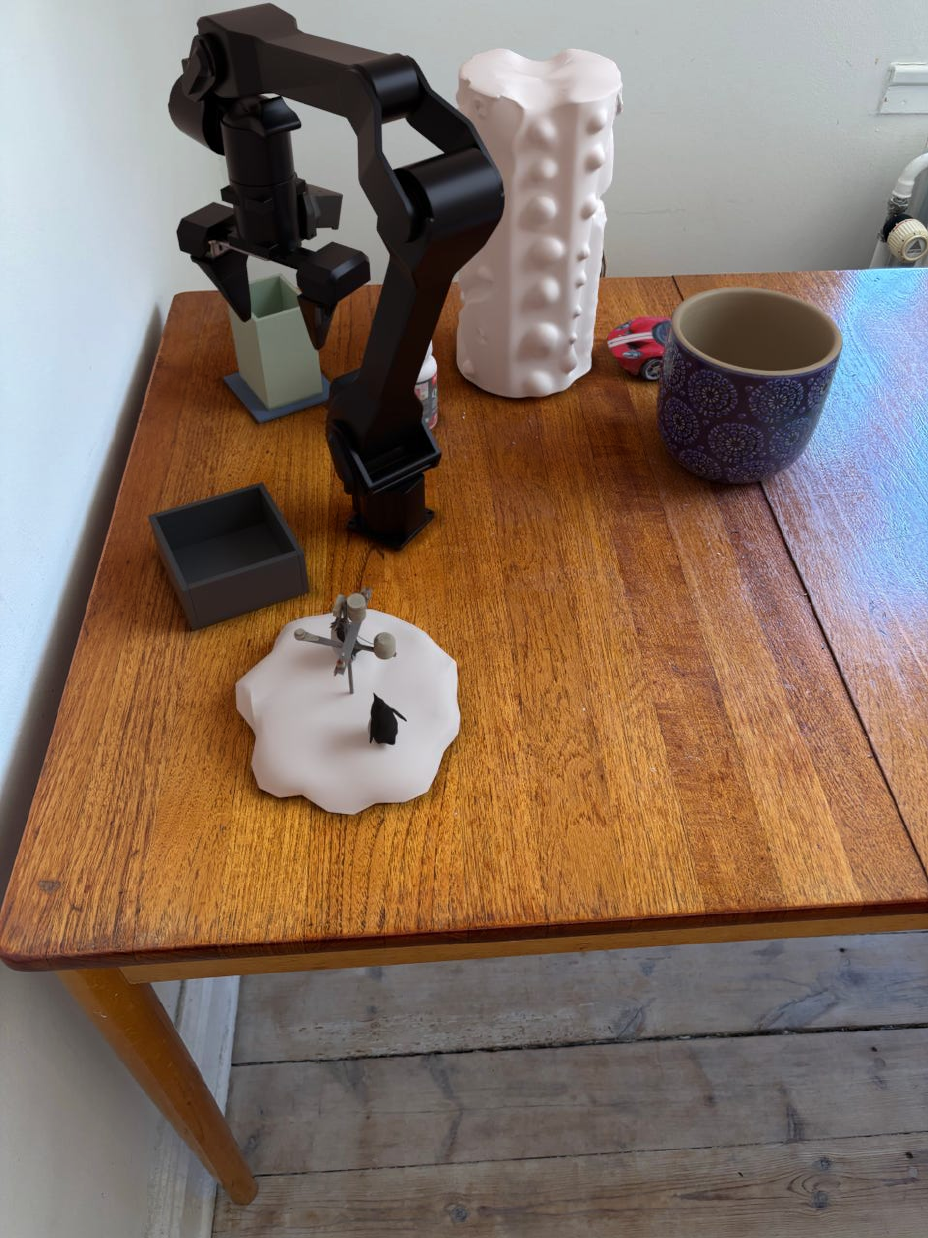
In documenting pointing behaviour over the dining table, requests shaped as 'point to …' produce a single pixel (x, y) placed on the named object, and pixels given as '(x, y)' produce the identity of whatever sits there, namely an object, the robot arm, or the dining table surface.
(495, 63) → the vase
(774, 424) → the planter
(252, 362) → the green basket
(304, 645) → the figurine
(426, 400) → the pill bottle
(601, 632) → the dining table surface
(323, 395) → the mat
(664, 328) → the toy car
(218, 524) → the charcoal basket
